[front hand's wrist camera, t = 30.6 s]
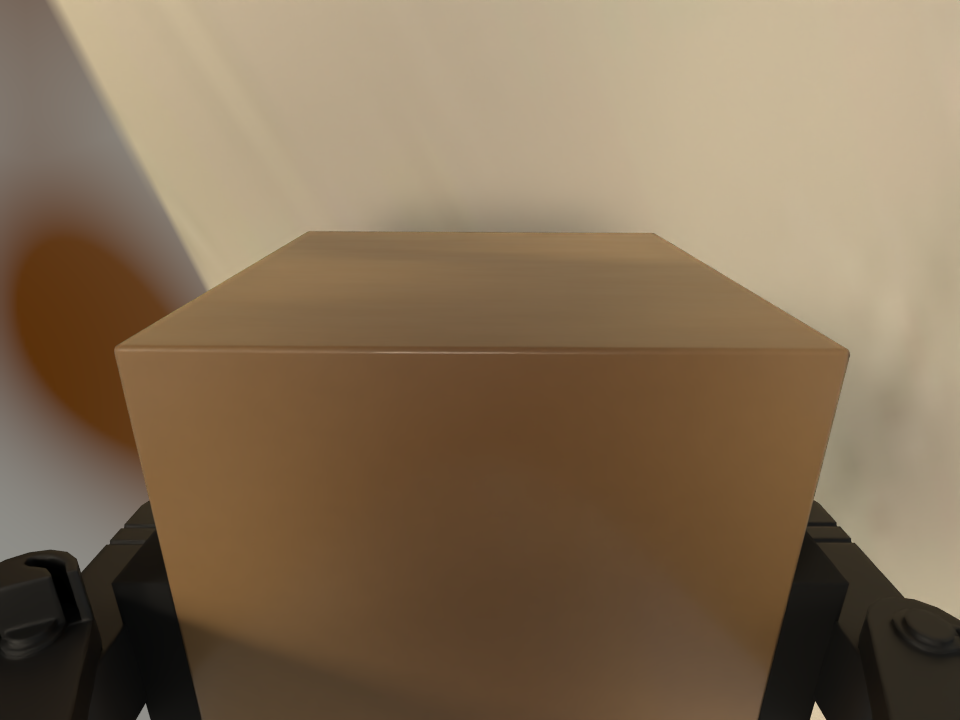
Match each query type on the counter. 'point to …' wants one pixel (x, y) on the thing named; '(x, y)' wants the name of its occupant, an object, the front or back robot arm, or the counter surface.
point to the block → (480, 478)
